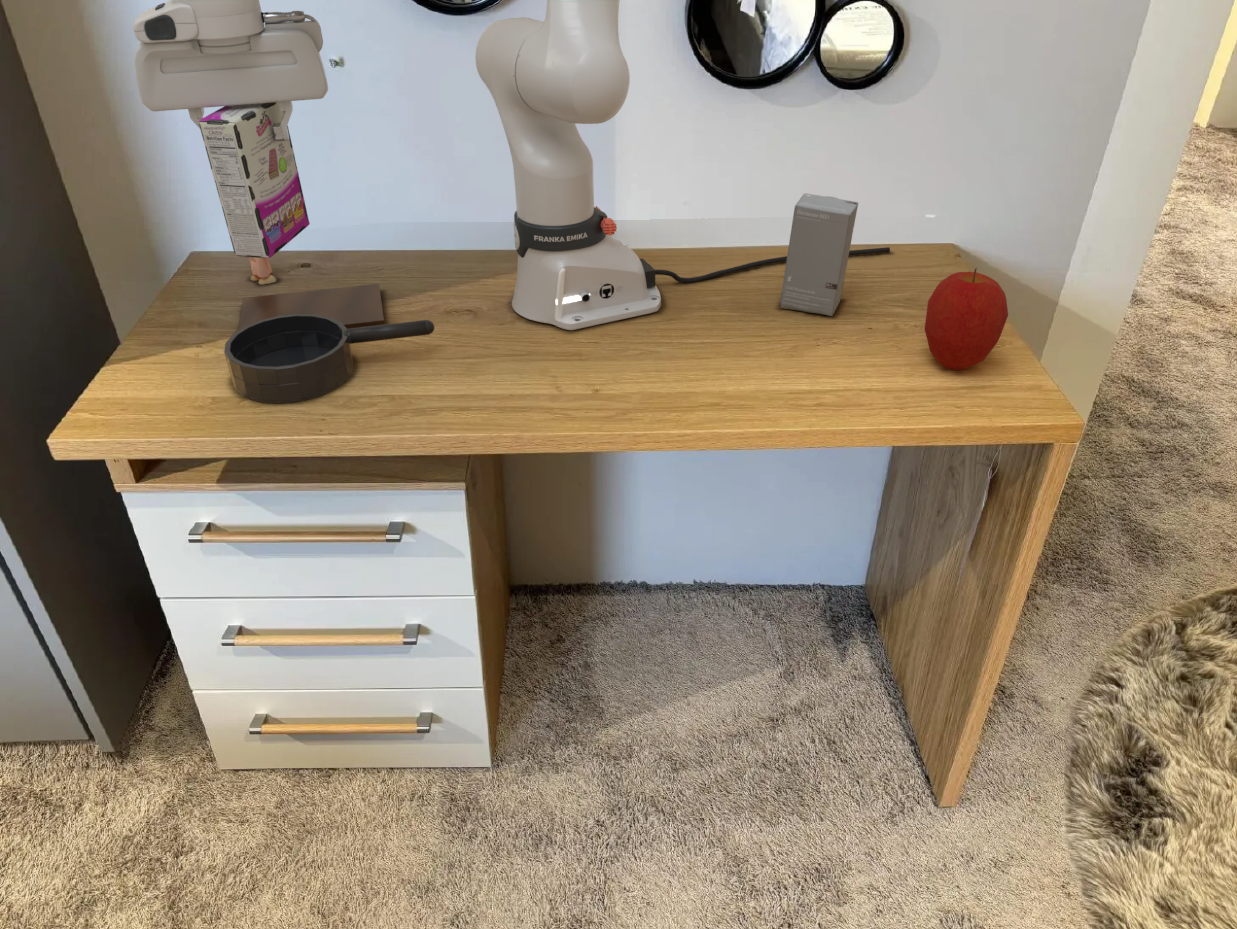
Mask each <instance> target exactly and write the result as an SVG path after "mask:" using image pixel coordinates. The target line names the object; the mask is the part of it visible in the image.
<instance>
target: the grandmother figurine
mask: <svg viewBox="0 0 1237 929" xmlns="http://www.w3.org/2000/svg"><path fill="white" fill-rule="evenodd" d="M248 258H249V262H250V268H251V273H252V275H251V276H250V280H251V281H253V282H257V283H258V284H259V285H261V286H262V285H269V284H273V283H276V282H277V278H276V276H274V275H272V274H271V273H273V270H272V267H271V264H270V260H269V258H255V257H248Z"/></svg>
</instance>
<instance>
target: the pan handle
mask: <svg viewBox="0 0 1237 929" xmlns="http://www.w3.org/2000/svg"><path fill="white" fill-rule="evenodd" d="M434 331H435V325H434V323H433V321H431V320H430V319H421V320H413V321H412V320H411V321H403V322H395V323H386V324H385V325H376V326H367V327H359V328H350V329H346V330H345V331H344V332H343V334H344V335H346V336H348V341H349V344H350V345H352V344H353V345H354V344H361V343H370V342H378V341H387V340H396V339H404V338H412V337H421V336H428V335H431V334H433V333H434Z"/></svg>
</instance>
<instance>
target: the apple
mask: <svg viewBox="0 0 1237 929" xmlns="http://www.w3.org/2000/svg"><path fill="white" fill-rule="evenodd" d="M1008 310H1009V309H1008V301H1007V296H1006V293H1005V291H1004V290H1003V288H1002V287H1001V285H1000V283H999V282H998V281H996V280H995V279H994V278H992V277H990V276H988V275H986V274H983V273H980V272H977V267H975V268H974V271H957V272H955V273H952V274H950V275H948V276H947V277H945V278H943V279H942V280H941V281H940V282H939V283H938V284H937V286H936V287H935V289H934V290H933V292H932V294H931V295H930V297H929V299H928V300H927V306H926V315H925V320H924V321H925V323H924V333H925V337H926V341H927V343H928V344H927V345H928V349H929V352H930V353H931V354H932V356H933V357H934V358H935V359H936V361H937V362H938V363H939V364H940V365H941V366H942V367H944V368H946V369H947V370H951V371H963V370H966V369H968V368H970V367H974V366H978V365H979V364H980V363H982V362H984V361H985V359H986V358H987V357H988V355H989V354H990V353H991V352H992V350H993V349H994V347H996V345H997V344H998V342H999V340H1000V338H1001V336H1002V333H1003V330H1004V328H1005V325H1006V322H1007V319H1008V317H1009V311H1008Z"/></svg>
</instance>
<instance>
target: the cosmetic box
mask: <svg viewBox="0 0 1237 929" xmlns="http://www.w3.org/2000/svg"><path fill="white" fill-rule="evenodd" d="M858 207H859V201H854V200H847V199H843V198H838V197H835V196H829V195H826V196H825V195H820V194H813V193H805V192H804V193H803V194H802V195H801V197H800V199H799V200H798V201H797V202H796V204H795V205H794V209H793V216H792V222H791V229H790V235H789V241H788V242H789V243H788V247H787V248H788V249H787V255H786V256H787V261H785V267H784V275H783V281H782V288H781V295H780V302H779V305H780V308H781V309H784V310H792V311H798V312H805V313H809V314H811V313H812V314H816V315H817V314H819V315H824V316H825V315H826V316H828V317H833V316H834V314H835V312H836V310H837V308H838V306H839V304H840V302H841V299H842V294H843V288H844V283H845V278H846V272H847V268H848V262H849V256H850V255H849V251H850V250H851V246H852V240H853V234H854V233H853V232H854V229H855V228H854V227H855V223H856V217H857V212H858Z"/></svg>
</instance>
